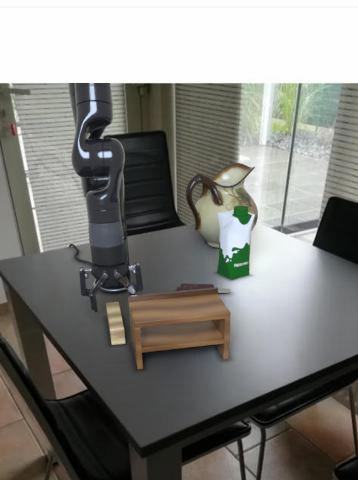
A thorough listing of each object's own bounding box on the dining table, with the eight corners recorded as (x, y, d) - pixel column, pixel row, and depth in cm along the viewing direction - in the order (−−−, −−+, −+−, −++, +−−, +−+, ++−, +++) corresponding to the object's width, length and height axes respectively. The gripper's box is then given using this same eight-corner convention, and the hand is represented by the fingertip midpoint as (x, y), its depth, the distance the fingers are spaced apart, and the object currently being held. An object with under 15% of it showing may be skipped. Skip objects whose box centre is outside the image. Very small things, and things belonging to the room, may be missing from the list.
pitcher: (260, 236, 177) (266, 162, 163) (248, 257, 159) (253, 176, 145) (202, 232, 183) (202, 160, 169) (184, 252, 165) (182, 173, 150)
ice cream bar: (230, 290, 136) (178, 288, 138) (230, 284, 135) (178, 283, 137) (230, 297, 132) (176, 296, 134) (230, 291, 131) (175, 290, 133)
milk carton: (230, 281, 141) (233, 211, 130) (212, 272, 148) (214, 205, 137) (253, 275, 145) (258, 206, 134) (235, 266, 152) (238, 200, 140)
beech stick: (107, 317, 123) (105, 302, 121) (119, 316, 124) (118, 301, 121) (111, 345, 111) (110, 329, 109) (125, 343, 112) (124, 328, 109)
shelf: (132, 345, 111) (127, 295, 104) (216, 335, 114) (217, 287, 107) (137, 369, 102) (133, 317, 95) (228, 359, 105) (230, 307, 98)
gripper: (137, 233, 109) (141, 300, 118) (73, 238, 107) (83, 305, 116) (141, 243, 103) (145, 312, 112) (74, 248, 101) (84, 318, 110)
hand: (114, 309), depth 114 cm, fingers open, 8 cm apart
